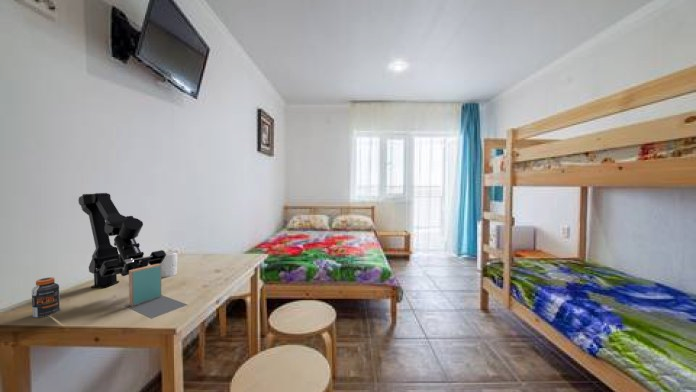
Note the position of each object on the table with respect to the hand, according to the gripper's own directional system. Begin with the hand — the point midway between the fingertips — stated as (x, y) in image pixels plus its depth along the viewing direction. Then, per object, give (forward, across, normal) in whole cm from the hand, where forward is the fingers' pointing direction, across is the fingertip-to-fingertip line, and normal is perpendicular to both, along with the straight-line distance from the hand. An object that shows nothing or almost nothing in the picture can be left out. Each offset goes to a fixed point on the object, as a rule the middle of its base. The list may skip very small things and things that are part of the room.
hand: (143, 281), depth 97 cm
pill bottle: (-7, +20, -18) cm, 28 cm away
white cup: (-11, -20, -22) cm, 31 cm away
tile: (+5, 0, -4) cm, 7 cm away
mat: (+10, 0, 0) cm, 10 cm away
